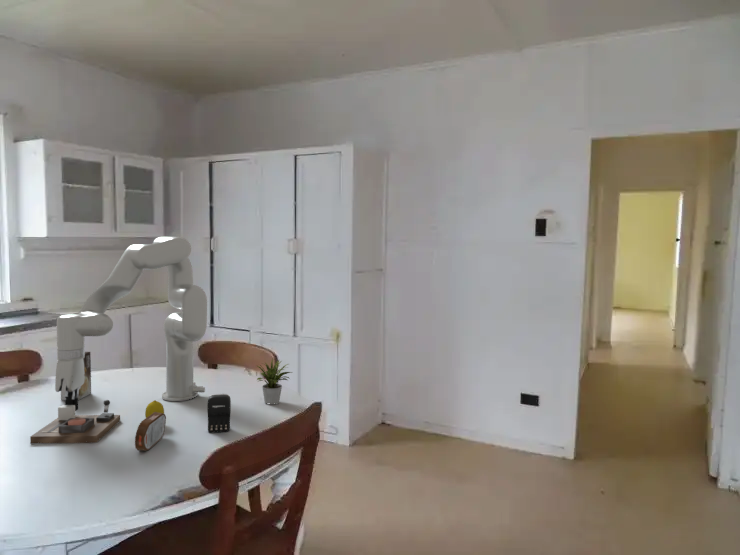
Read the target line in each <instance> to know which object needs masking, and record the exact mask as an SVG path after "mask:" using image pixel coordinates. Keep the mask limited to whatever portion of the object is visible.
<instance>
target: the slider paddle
mask: <svg viewBox="0 0 740 555" xmlns="http://www.w3.org/2000/svg"><path fill="white" fill-rule="evenodd" d="M57 415H58V416H57V418H58V420H68V419H70V418H75V415H76V411H75V405H65V404H62V405H60V406H58V407H57Z"/></svg>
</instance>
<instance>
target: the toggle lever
mask: <svg viewBox="0 0 740 555" xmlns="http://www.w3.org/2000/svg"><path fill="white" fill-rule="evenodd" d="M103 404H104V405H103V406H104V407H103V413H109V406H110V404H111V401H110V400H109V399H106V400H104V401H103Z"/></svg>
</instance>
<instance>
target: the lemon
mask: <svg viewBox="0 0 740 555" xmlns="http://www.w3.org/2000/svg"><path fill="white" fill-rule="evenodd" d="M154 412H157V413H164V414H165V408H164V405H163V403H161V402H160V401H159V400H158V401H157V400H152V401H151V402H150V403H147V406H146V408H145V413H144V414H145V415H144V416H145V419H146V418H147V417H148V416H150V415H151V414H153V413H154Z"/></svg>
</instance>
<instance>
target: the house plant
mask: <svg viewBox="0 0 740 555" xmlns="http://www.w3.org/2000/svg"><path fill="white" fill-rule="evenodd" d="M273 362H274V359H273V358H272V359H271V363H270V366H269V365H268V364H267V363H266V362H264V363H263V365H265V367H266V370H265V368H264V367H263V366H262V365H261V364H259V365H256V368H257V367H258V368H259V370H261V373H260V375H262V376H263V377H264V378H265V379H263V378H262V377H258V378H256V381H258V382H261V381H262V382H265V384H263V385H262V386H261V387H262V393H263V400H264V404H265V403H270V404H274V403H278V402H279V403H280V401H281V400H280V399H281V393H282V388H283V386H282V384H280V383H279V382H280V381H282V380H283V381H284V380H285V381H288V379H290V377H289V376H284V375H287V374H290V373H291V374H292V373H293V371H285V369H286V368H289V367H286V366H287V365H289V363H287V364H284V365H283V366H282V367H281V368H280V369H278V367H279V365H280V364H281V362H282V361H280V359H279V360H277V361H276V362H275V364H273ZM283 371H284V372H283ZM290 380H291V379H290ZM279 403H278V404H279Z"/></svg>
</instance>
